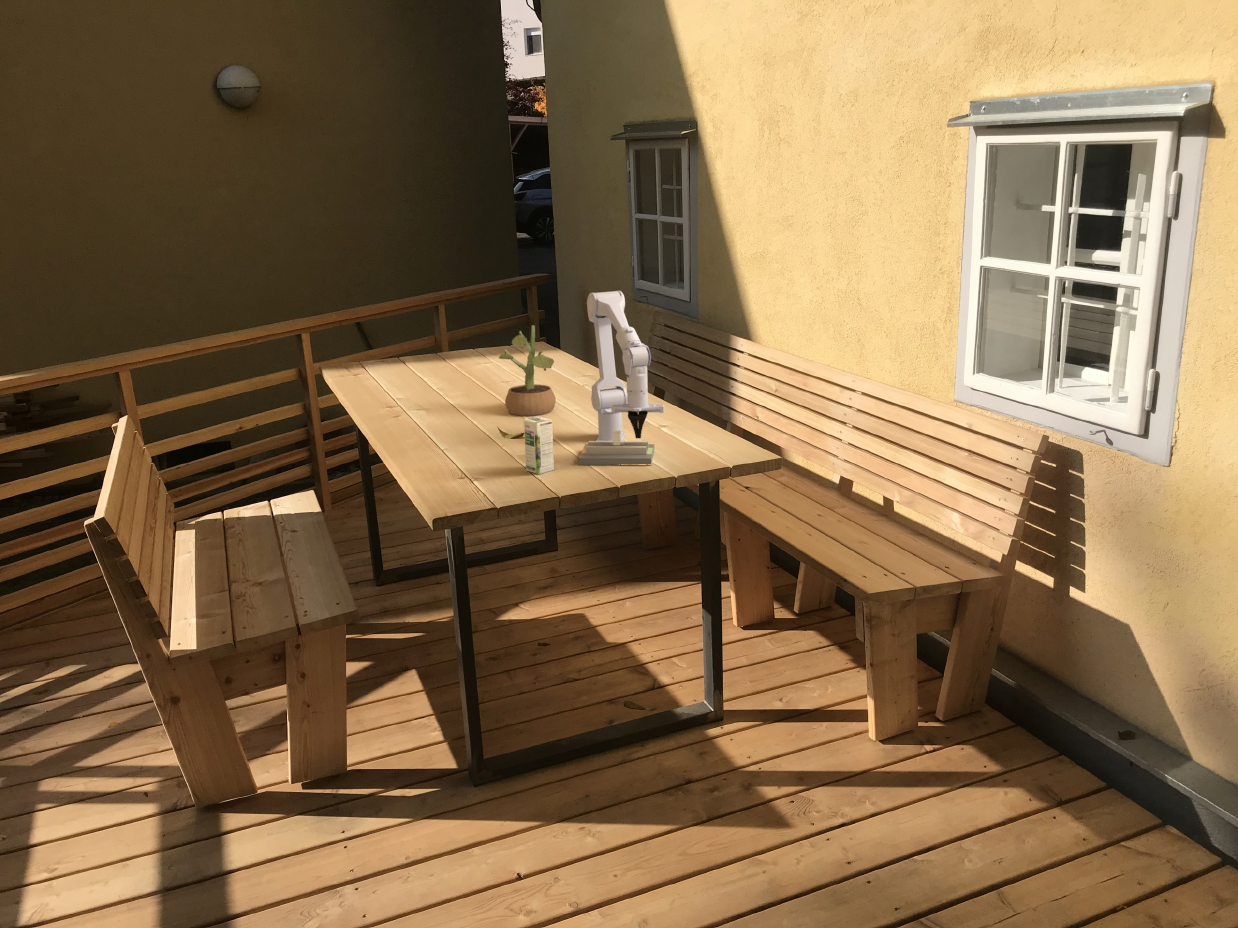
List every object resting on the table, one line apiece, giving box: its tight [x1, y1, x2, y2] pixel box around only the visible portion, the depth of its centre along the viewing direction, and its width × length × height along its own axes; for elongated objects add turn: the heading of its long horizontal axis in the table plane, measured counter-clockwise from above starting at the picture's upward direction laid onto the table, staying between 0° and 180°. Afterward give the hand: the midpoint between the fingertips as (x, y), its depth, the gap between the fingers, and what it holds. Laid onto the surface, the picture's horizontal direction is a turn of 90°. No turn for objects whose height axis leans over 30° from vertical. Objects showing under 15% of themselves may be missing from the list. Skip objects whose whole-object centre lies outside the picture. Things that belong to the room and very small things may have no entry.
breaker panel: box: [578, 440, 655, 466], centre depth 277 cm, size 14×20×4 cm
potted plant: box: [498, 325, 557, 417], centre depth 326 cm, size 22×18×30 cm
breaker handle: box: [609, 430, 625, 446], centre depth 277 cm, size 3×4×5 cm
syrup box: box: [523, 415, 555, 475], centre depth 267 cm, size 6×6×14 cm
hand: (638, 437), depth 276 cm, fingers closed
